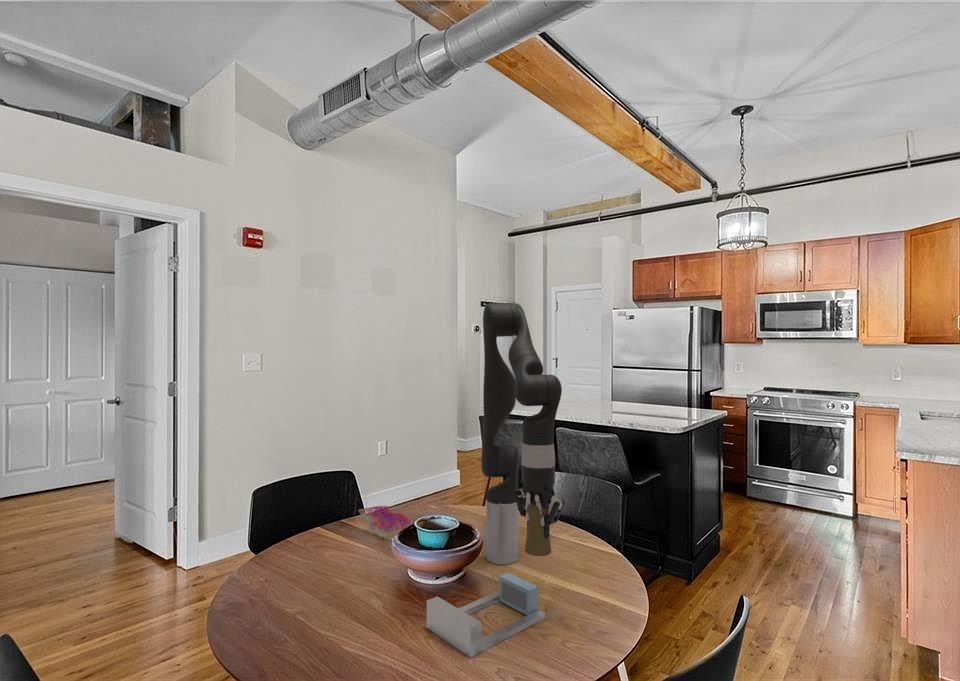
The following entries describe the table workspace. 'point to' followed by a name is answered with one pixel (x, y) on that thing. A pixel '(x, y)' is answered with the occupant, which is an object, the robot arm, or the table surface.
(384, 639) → the table surface
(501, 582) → the free jaw
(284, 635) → the table surface
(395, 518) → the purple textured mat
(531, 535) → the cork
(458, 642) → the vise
